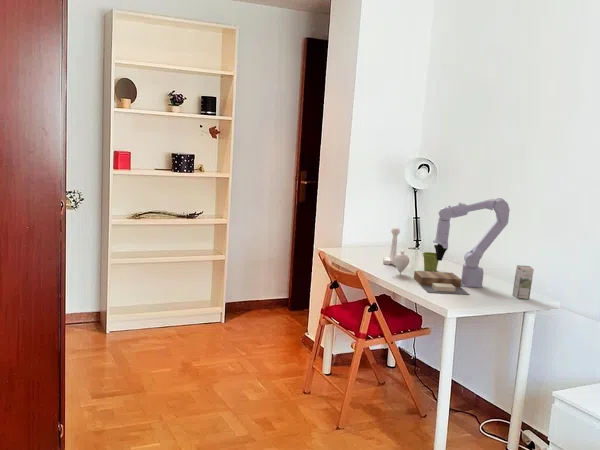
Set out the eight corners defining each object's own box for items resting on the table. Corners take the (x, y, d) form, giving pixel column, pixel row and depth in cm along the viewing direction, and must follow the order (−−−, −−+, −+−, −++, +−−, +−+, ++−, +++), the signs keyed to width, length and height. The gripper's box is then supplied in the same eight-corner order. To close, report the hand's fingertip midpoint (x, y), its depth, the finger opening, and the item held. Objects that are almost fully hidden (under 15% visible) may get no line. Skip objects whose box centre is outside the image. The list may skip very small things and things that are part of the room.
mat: (460, 287, 292) (460, 287, 292) (469, 294, 280) (469, 294, 280) (420, 285, 290) (420, 285, 290) (428, 292, 278) (428, 292, 278)
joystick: (401, 266, 329) (405, 228, 325) (389, 266, 325) (393, 228, 322) (389, 261, 338) (393, 225, 335) (378, 261, 335) (381, 225, 332)
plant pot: (427, 272, 318) (429, 256, 316) (417, 268, 326) (419, 252, 325) (442, 272, 321) (444, 256, 320) (432, 268, 330) (434, 252, 328)
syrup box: (524, 296, 285) (528, 265, 283) (529, 299, 279) (534, 268, 277) (512, 295, 285) (516, 264, 282) (517, 299, 279) (521, 267, 277)
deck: (451, 280, 304) (452, 272, 304) (460, 287, 292) (461, 279, 291) (413, 278, 303) (414, 270, 302) (420, 285, 290) (421, 277, 289)
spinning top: (396, 276, 304) (398, 252, 302) (389, 272, 312) (392, 249, 310) (410, 276, 307) (413, 252, 305) (403, 272, 314) (406, 249, 312)
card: (455, 287, 282) (455, 291, 282) (451, 283, 288) (450, 288, 288) (436, 286, 281) (435, 290, 282) (432, 282, 287) (431, 287, 287)
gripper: (430, 229, 304) (426, 256, 306) (439, 234, 289) (435, 263, 292) (444, 230, 304) (440, 257, 307) (453, 235, 290) (450, 264, 292)
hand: (439, 260), depth 299 cm, fingers closed
